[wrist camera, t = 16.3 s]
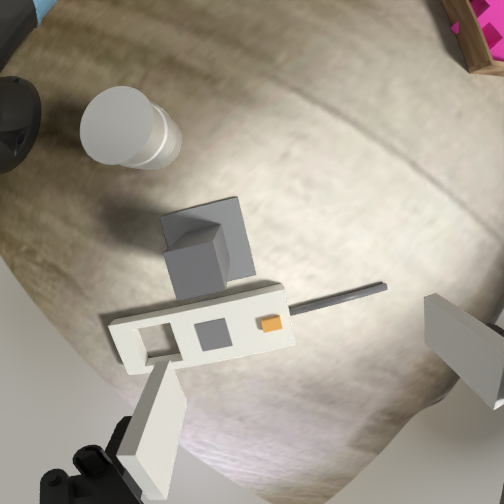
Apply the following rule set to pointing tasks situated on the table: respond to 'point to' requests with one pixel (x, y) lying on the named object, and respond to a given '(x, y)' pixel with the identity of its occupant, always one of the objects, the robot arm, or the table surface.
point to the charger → (198, 263)
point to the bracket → (489, 24)
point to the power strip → (219, 327)
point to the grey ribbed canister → (129, 130)
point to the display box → (472, 39)
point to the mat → (211, 216)
